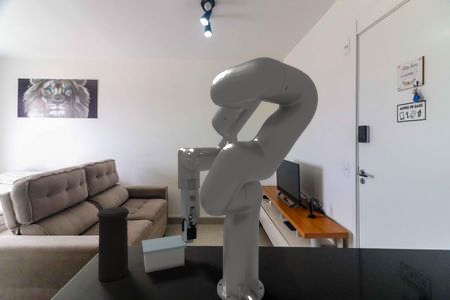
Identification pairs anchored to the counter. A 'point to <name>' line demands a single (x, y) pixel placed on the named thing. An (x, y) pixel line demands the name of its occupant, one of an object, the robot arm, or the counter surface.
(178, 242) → the lid
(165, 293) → the counter surface
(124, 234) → the container
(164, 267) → the tub
